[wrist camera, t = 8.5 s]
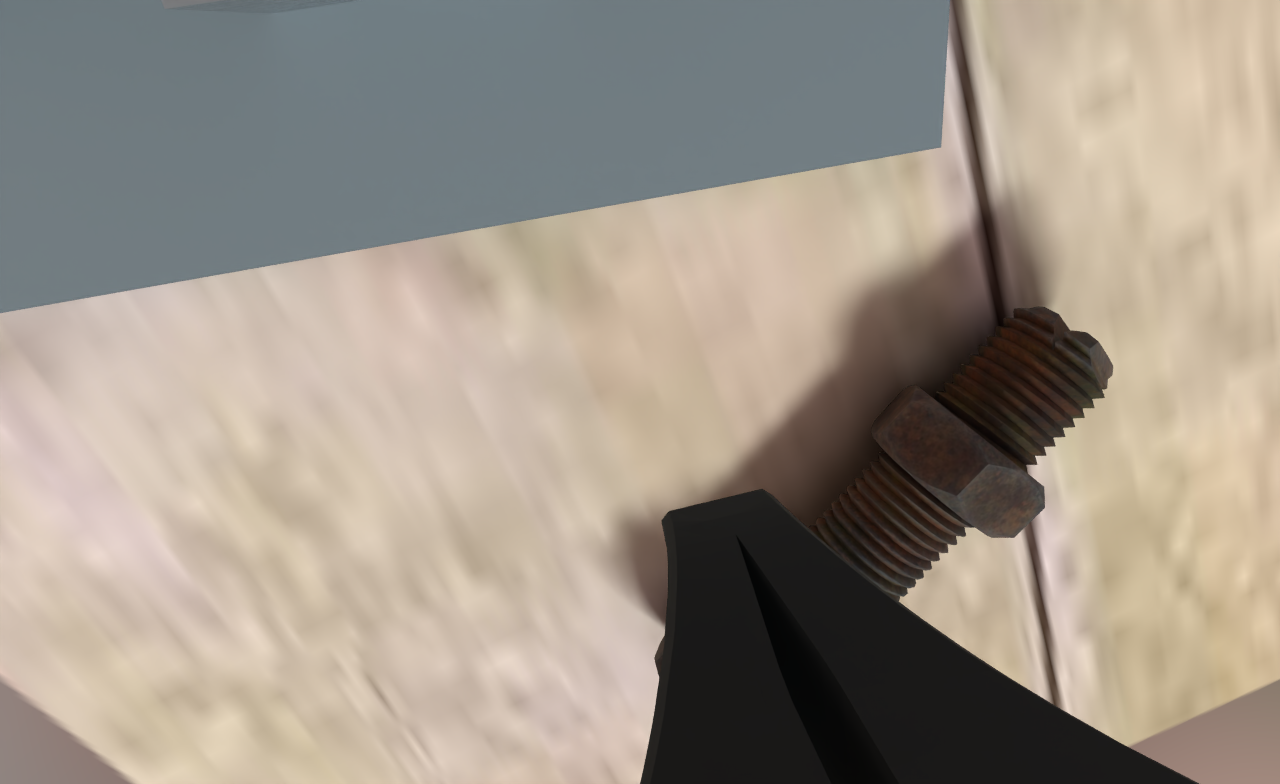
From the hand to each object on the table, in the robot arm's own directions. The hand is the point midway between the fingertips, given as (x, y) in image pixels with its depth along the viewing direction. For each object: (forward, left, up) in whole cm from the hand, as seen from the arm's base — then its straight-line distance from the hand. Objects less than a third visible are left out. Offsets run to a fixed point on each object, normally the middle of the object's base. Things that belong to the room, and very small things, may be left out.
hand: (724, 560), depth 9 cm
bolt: (-6, +8, -11) cm, 15 cm away
